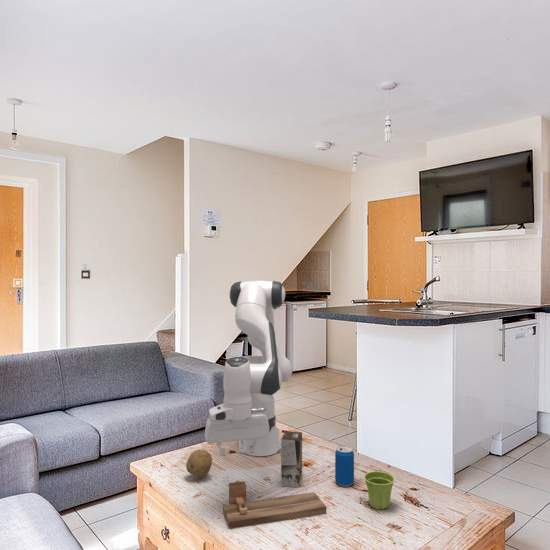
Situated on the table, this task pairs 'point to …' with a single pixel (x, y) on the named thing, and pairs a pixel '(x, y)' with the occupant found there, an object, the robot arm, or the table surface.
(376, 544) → the table surface
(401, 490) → the table surface
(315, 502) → the plank
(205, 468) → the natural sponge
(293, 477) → the coffee box
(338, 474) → the beverage can
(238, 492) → the wooden chest hasp
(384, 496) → the plant pot
